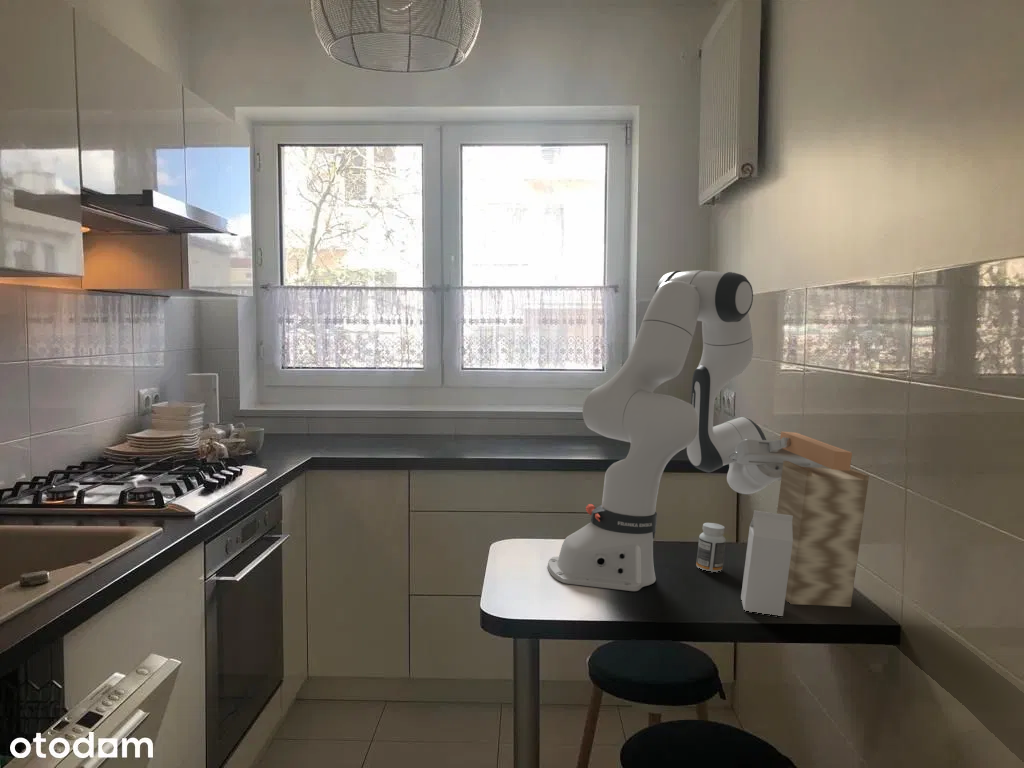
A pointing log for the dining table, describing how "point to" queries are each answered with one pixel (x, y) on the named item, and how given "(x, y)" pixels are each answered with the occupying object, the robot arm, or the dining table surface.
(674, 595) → the dining table surface
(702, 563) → the pill bottle
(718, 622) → the dining table surface
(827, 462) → the bar
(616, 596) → the dining table surface
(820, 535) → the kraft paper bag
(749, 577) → the milk carton
